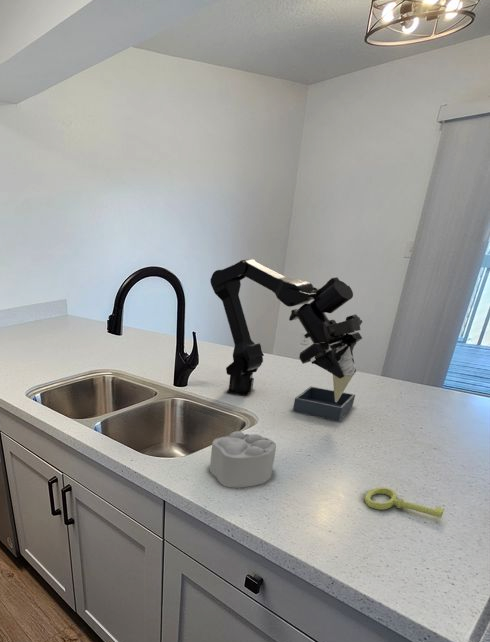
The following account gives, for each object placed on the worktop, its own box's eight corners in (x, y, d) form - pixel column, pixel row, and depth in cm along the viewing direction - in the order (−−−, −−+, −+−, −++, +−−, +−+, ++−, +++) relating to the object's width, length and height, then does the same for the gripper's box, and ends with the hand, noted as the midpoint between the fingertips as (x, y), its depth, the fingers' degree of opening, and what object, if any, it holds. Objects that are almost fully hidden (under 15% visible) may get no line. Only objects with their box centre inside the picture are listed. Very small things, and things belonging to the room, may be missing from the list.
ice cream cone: (342, 398, 117) (356, 343, 110) (349, 406, 112) (364, 349, 105) (322, 398, 117) (335, 343, 110) (328, 405, 113) (342, 348, 106)
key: (443, 524, 78) (447, 514, 77) (363, 507, 84) (366, 497, 83) (438, 503, 83) (442, 494, 82) (364, 488, 89) (366, 479, 88)
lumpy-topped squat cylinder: (205, 466, 101) (208, 432, 97) (256, 458, 102) (261, 425, 98) (226, 490, 91) (230, 453, 87) (282, 481, 93) (289, 445, 89)
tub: (292, 411, 125) (294, 398, 123) (308, 398, 133) (310, 386, 131) (338, 421, 118) (341, 407, 116) (352, 407, 125) (355, 394, 123)
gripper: (320, 310, 102) (356, 366, 99) (363, 299, 111) (397, 351, 107) (285, 337, 112) (316, 389, 109) (327, 325, 120) (357, 373, 117)
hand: (348, 375), depth 110 cm, fingers closed on ice cream cone, 5 cm apart
